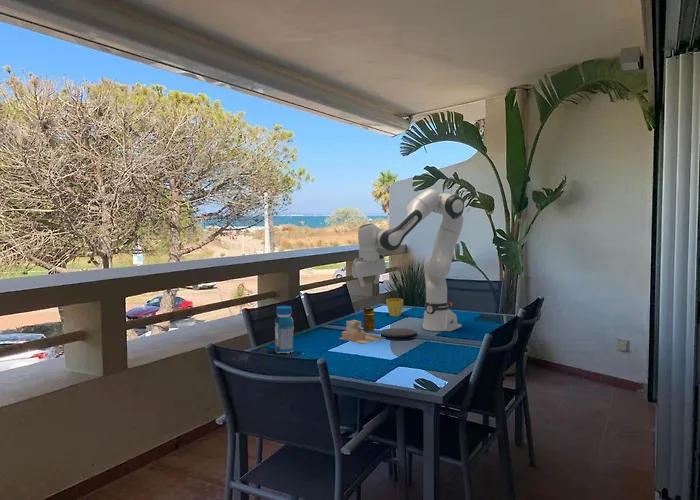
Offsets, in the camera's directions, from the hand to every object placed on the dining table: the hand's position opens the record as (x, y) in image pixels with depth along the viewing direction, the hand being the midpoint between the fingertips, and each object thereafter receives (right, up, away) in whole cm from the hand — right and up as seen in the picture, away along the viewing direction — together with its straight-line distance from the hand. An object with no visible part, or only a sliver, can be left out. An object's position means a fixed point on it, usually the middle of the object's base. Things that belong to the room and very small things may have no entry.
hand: (369, 284), depth 241 cm
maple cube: (-8, -22, -3) cm, 24 cm away
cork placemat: (-4, -26, -2) cm, 27 cm away
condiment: (-1, -26, +16) cm, 30 cm away
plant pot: (+17, -23, +57) cm, 63 cm away
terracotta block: (-8, -26, -3) cm, 27 cm away
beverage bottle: (-39, -28, -24) cm, 54 cm away
